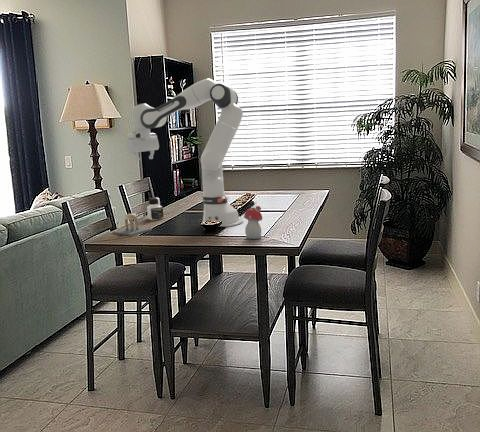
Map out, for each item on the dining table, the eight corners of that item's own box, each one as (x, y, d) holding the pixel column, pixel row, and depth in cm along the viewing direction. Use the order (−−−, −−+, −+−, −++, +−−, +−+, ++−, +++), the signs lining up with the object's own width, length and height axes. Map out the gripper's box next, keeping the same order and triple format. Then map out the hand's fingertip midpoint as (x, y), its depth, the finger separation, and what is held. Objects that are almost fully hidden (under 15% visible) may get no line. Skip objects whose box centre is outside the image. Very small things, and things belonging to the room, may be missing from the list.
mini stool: (132, 228, 286) (131, 213, 284) (139, 229, 282) (138, 214, 281) (124, 230, 281) (122, 215, 280) (131, 231, 278) (130, 216, 276)
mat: (151, 230, 283) (151, 228, 283) (130, 236, 272) (130, 234, 272) (133, 228, 292) (133, 226, 292) (112, 233, 281) (112, 231, 281)
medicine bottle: (151, 220, 309) (149, 199, 307) (147, 218, 316) (145, 198, 313) (163, 218, 313) (162, 197, 310) (159, 217, 319) (157, 196, 317)
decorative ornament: (266, 238, 251) (264, 205, 248) (254, 240, 247) (252, 207, 244) (253, 235, 258) (251, 203, 256) (242, 237, 255) (240, 205, 252)
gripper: (152, 133, 309) (154, 157, 312) (123, 135, 294) (126, 161, 296) (160, 132, 305) (162, 157, 308) (131, 135, 290) (134, 161, 292)
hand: (144, 159), depth 302 cm, fingers open, 8 cm apart
